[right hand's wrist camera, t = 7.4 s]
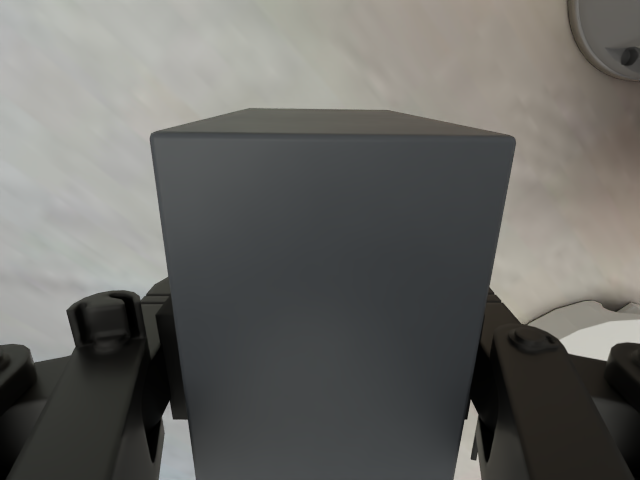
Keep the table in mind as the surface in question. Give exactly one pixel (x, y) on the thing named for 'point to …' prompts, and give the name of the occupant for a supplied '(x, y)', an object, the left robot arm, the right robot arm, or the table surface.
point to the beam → (328, 287)
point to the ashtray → (591, 327)
